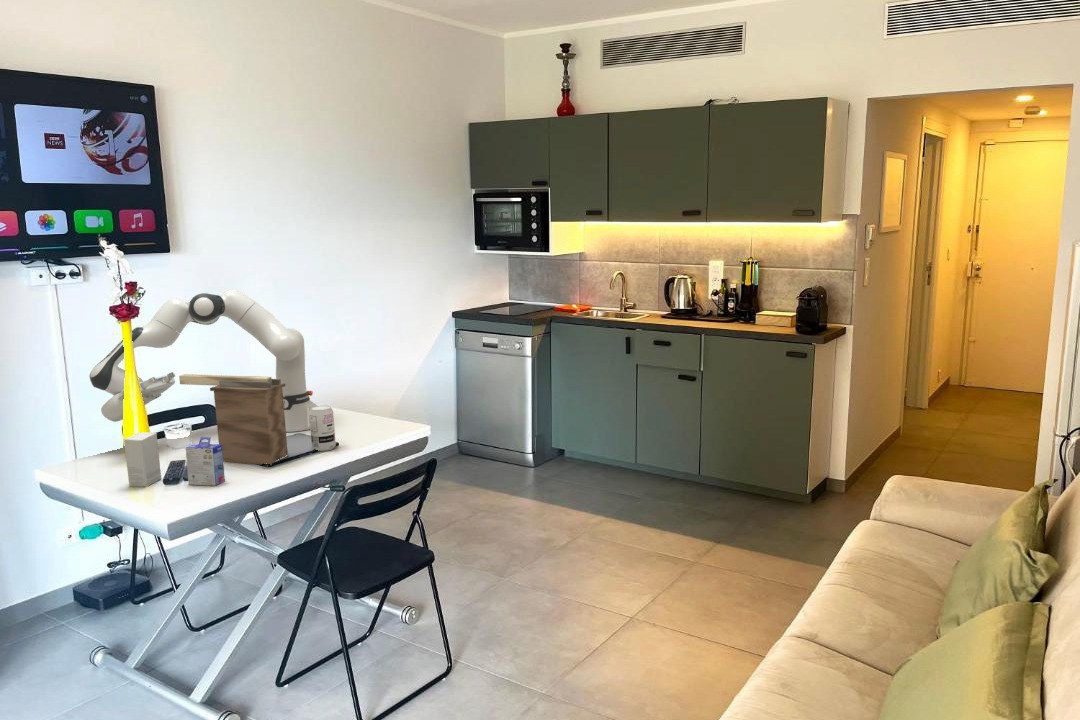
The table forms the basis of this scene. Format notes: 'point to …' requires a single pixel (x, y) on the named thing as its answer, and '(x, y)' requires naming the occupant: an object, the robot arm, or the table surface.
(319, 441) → the supplement can
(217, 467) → the ink cartridge box
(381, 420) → the table surface
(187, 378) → the wooden bar
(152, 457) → the skincare box
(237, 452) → the tall wooden crate
